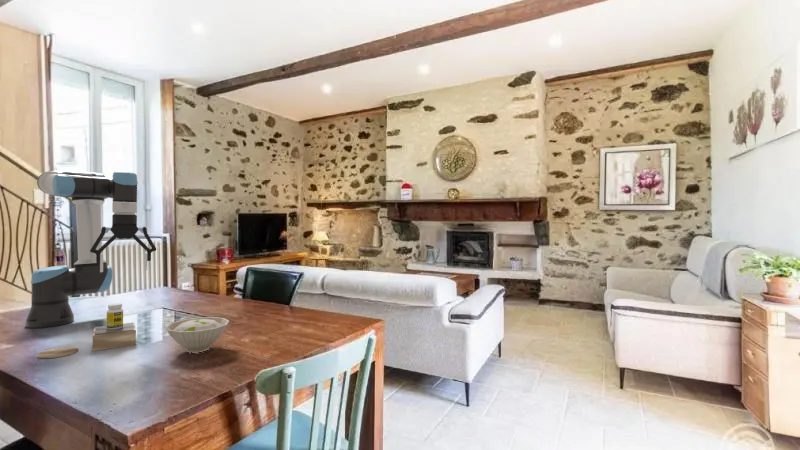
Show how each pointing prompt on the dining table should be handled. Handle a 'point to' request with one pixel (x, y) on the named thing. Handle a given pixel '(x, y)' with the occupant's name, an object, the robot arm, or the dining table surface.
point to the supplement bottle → (115, 316)
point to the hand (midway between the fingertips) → (124, 270)
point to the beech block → (114, 337)
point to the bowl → (197, 332)
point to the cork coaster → (57, 352)
